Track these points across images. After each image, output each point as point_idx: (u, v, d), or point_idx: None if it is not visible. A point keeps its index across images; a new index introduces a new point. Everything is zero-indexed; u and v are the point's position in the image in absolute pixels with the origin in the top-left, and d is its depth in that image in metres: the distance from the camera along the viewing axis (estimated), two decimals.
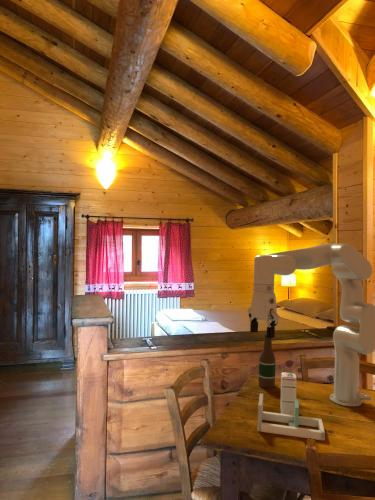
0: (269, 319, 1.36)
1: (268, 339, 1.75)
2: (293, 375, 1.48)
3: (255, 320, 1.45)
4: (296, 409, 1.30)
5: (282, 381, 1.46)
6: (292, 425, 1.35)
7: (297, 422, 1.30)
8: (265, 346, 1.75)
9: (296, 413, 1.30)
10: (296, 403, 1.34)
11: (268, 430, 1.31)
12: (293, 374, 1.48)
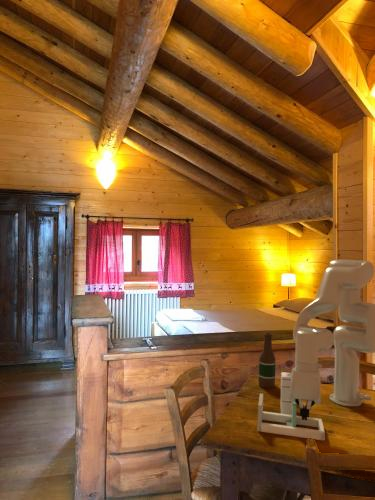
0: None
1: (268, 339, 1.75)
2: None
3: None
4: (294, 409, 1.31)
5: (282, 381, 1.46)
6: (290, 425, 1.35)
7: (295, 422, 1.30)
8: (265, 346, 1.75)
9: (294, 413, 1.31)
10: (294, 403, 1.34)
11: (268, 430, 1.31)
12: None
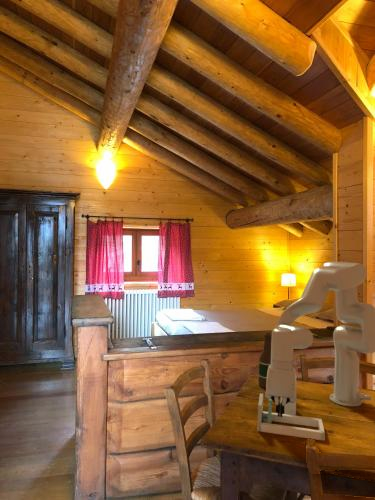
0: None
1: (268, 339, 1.75)
2: None
3: (278, 400, 1.36)
4: (269, 406, 1.33)
5: None
6: (266, 421, 1.37)
7: (270, 418, 1.32)
8: (265, 346, 1.75)
9: (269, 410, 1.33)
10: (270, 400, 1.36)
11: (268, 430, 1.31)
12: None
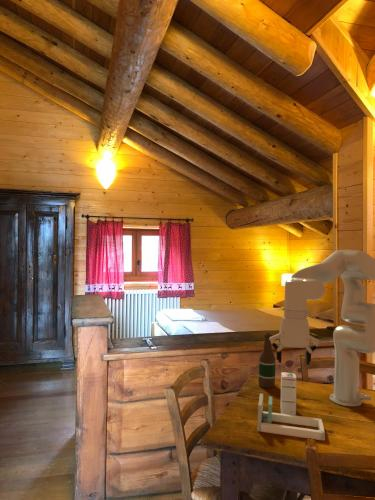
0: None
1: (268, 339, 1.75)
2: (293, 375, 1.48)
3: None
4: (269, 406, 1.33)
5: (282, 381, 1.46)
6: (266, 421, 1.37)
7: (270, 418, 1.32)
8: (265, 346, 1.75)
9: (269, 410, 1.33)
10: (270, 400, 1.36)
11: (268, 430, 1.31)
12: (293, 374, 1.48)
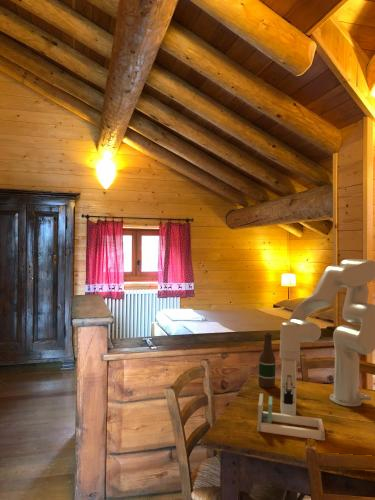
0: None
1: (268, 339, 1.75)
2: None
3: None
4: (269, 406, 1.33)
5: None
6: (266, 421, 1.37)
7: (270, 418, 1.32)
8: (265, 346, 1.75)
9: (269, 410, 1.33)
10: (270, 400, 1.36)
11: (268, 430, 1.31)
12: None
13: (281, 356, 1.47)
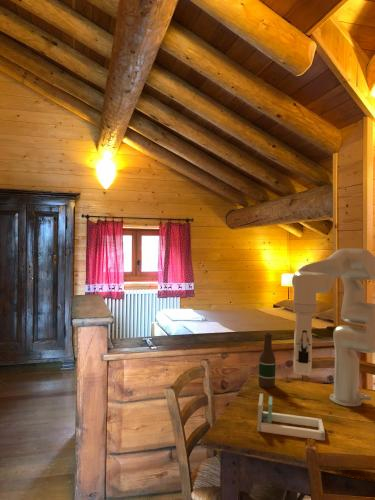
0: None
1: (268, 339, 1.75)
2: None
3: None
4: (269, 406, 1.33)
5: None
6: (266, 421, 1.37)
7: (270, 418, 1.32)
8: (265, 346, 1.75)
9: (269, 410, 1.33)
10: (270, 400, 1.36)
11: (268, 430, 1.31)
12: None
13: (295, 310, 1.32)
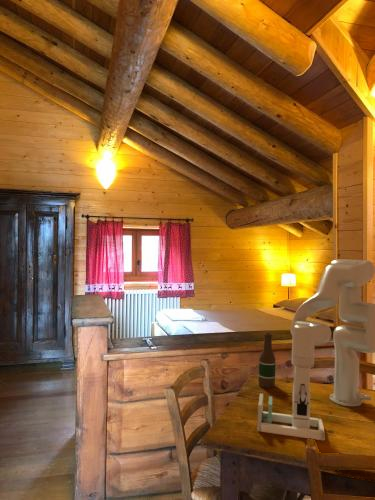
0: None
1: (268, 339, 1.75)
2: None
3: None
4: (269, 406, 1.33)
5: (294, 396, 1.31)
6: (266, 421, 1.37)
7: (270, 418, 1.32)
8: (265, 346, 1.75)
9: (269, 410, 1.33)
10: (270, 400, 1.36)
11: (268, 430, 1.31)
12: None
13: (293, 362, 1.32)
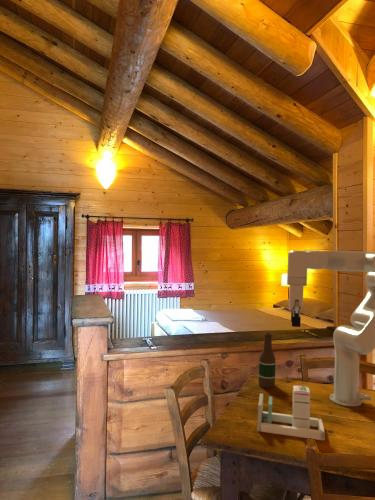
0: None
1: (268, 339, 1.75)
2: (306, 389, 1.33)
3: None
4: (269, 406, 1.33)
5: (294, 396, 1.31)
6: (266, 421, 1.37)
7: (270, 418, 1.32)
8: (265, 346, 1.75)
9: (269, 410, 1.33)
10: (270, 400, 1.36)
11: (268, 430, 1.31)
12: (307, 388, 1.34)
13: (289, 283, 1.51)
